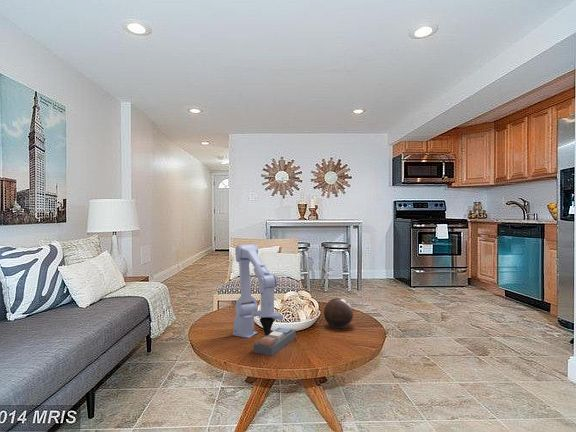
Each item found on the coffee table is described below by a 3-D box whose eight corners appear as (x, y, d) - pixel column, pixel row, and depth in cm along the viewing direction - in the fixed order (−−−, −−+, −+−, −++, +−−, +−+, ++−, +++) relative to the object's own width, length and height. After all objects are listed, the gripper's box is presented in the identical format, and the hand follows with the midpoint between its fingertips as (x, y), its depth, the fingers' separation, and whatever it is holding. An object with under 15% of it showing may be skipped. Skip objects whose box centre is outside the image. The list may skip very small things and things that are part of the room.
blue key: (276, 336, 162) (276, 330, 162) (281, 332, 167) (281, 327, 167) (286, 338, 160) (286, 332, 160) (291, 334, 165) (291, 329, 165)
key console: (253, 352, 148) (253, 344, 148) (279, 334, 169) (279, 327, 169) (271, 356, 144) (271, 347, 144) (295, 337, 165) (295, 330, 165)
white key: (268, 340, 155) (268, 334, 155) (273, 336, 160) (273, 331, 160) (278, 341, 153) (278, 336, 153) (283, 338, 158) (283, 332, 157)
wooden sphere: (355, 332, 172) (355, 302, 172) (325, 332, 173) (325, 302, 172) (350, 322, 187) (350, 295, 187) (322, 322, 188) (322, 295, 187)
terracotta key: (259, 346, 148) (259, 340, 148) (265, 342, 153) (265, 336, 152) (269, 348, 146) (269, 342, 146) (275, 344, 150) (275, 338, 150)
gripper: (247, 303, 149) (248, 334, 149) (277, 307, 142) (277, 340, 142) (256, 299, 155) (256, 329, 155) (285, 303, 149) (285, 334, 149)
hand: (267, 334), depth 149 cm, fingers closed
